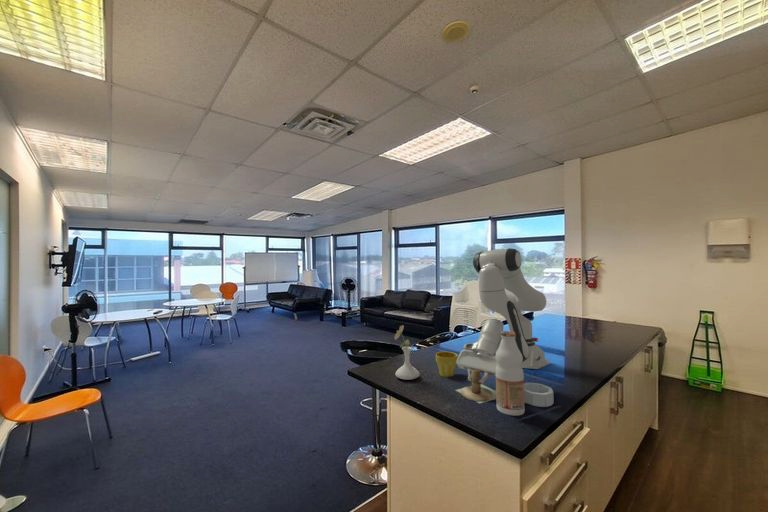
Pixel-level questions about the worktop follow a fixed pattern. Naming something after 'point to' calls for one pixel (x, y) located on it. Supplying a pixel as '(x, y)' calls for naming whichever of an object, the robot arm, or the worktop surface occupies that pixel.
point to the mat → (486, 388)
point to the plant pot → (446, 363)
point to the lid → (476, 389)
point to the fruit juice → (509, 376)
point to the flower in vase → (406, 360)
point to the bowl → (538, 394)
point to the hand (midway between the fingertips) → (475, 381)
